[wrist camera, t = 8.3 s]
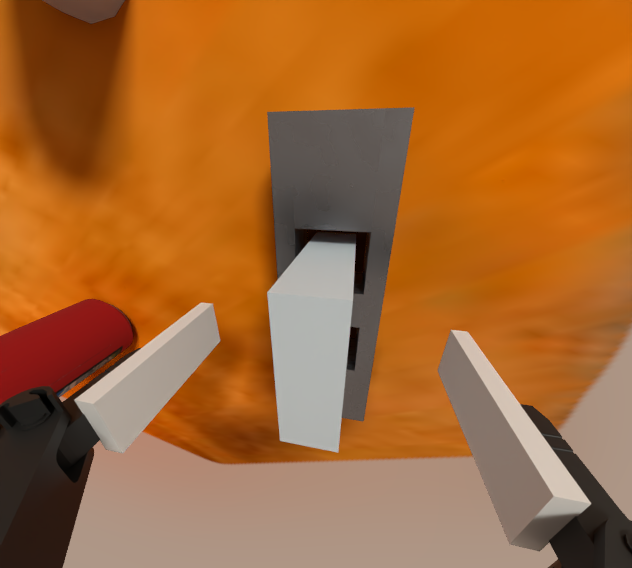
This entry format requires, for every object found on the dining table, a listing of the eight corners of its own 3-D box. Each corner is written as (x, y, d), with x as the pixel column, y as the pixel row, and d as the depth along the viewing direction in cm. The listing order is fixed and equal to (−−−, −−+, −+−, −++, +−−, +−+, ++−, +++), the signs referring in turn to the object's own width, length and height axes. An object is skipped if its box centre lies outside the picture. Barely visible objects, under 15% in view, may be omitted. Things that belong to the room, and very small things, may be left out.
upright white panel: (347, 327, 20) (338, 452, 11) (315, 324, 21) (280, 440, 12) (356, 233, 17) (352, 300, 7) (317, 231, 17) (267, 292, 8)
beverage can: (96, 338, 28) (-71, 439, 17) (76, 290, 25) (-142, 375, 14) (145, 349, 27) (3, 462, 16) (131, 301, 24) (-56, 399, 13)
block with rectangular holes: (296, 373, 24) (285, 407, 20) (289, 128, 15) (267, 112, 11) (362, 383, 23) (363, 421, 19) (399, 126, 14) (414, 107, 10)
